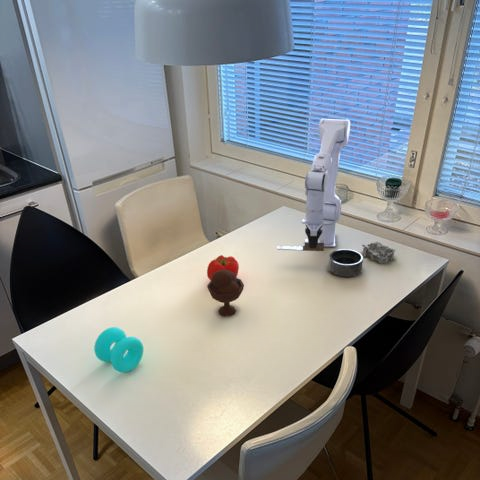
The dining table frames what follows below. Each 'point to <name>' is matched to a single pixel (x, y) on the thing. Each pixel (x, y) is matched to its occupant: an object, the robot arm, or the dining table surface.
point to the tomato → (222, 265)
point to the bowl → (345, 262)
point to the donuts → (118, 349)
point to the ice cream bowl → (225, 290)
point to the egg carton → (378, 252)
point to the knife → (304, 246)
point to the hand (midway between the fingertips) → (312, 245)
